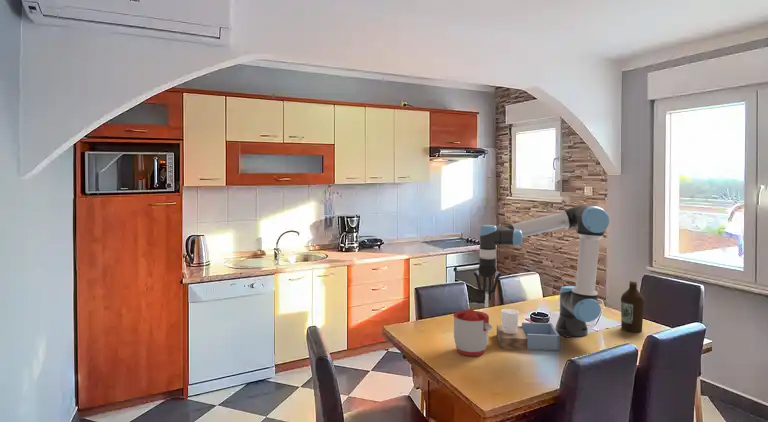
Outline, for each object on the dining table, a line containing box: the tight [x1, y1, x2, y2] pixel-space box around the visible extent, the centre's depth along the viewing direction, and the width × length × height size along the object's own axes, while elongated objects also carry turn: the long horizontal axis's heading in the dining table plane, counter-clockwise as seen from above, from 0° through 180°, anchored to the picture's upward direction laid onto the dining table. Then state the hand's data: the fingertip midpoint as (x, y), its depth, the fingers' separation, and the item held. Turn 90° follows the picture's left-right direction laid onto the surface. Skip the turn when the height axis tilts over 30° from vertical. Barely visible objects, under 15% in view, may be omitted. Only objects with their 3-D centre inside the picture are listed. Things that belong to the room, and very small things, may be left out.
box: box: [521, 321, 561, 352], centre depth 223 cm, size 14×18×7 cm
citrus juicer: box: [453, 308, 493, 357], centre depth 212 cm, size 16×17×20 cm
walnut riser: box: [496, 324, 528, 351], centre depth 225 cm, size 12×18×5 cm, turn 172°
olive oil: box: [620, 280, 645, 333], centre depth 241 cm, size 11×11×25 cm
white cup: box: [500, 308, 519, 334], centre depth 224 cm, size 8×8×10 cm
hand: (486, 306), depth 225 cm, fingers closed
